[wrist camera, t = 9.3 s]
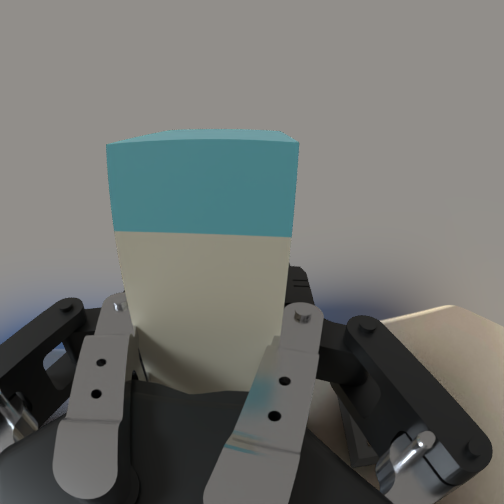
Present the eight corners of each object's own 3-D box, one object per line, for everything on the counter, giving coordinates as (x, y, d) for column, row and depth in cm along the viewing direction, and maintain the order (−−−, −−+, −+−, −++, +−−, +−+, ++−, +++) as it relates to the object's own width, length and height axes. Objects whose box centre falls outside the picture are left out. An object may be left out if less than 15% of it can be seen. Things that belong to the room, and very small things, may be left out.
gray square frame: (404, 383, 27) (411, 371, 26) (429, 450, 18) (439, 440, 18) (336, 390, 27) (340, 378, 26) (351, 467, 19) (358, 458, 18)
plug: (260, 393, 16) (280, 131, 10) (260, 467, 12) (299, 142, 5) (192, 389, 16) (170, 129, 10) (178, 461, 12) (105, 144, 5)
